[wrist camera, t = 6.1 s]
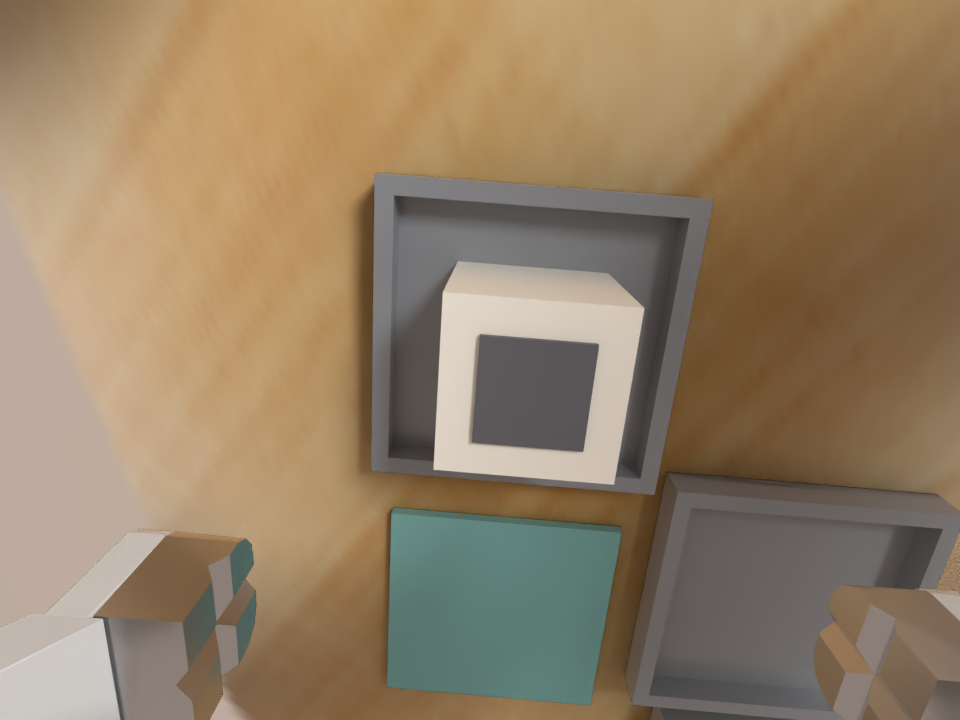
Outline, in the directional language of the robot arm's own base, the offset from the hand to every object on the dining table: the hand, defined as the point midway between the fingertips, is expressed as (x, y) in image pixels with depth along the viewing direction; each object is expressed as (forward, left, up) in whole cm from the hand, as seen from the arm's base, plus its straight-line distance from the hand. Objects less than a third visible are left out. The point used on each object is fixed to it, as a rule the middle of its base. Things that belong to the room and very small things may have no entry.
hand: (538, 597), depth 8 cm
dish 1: (0, 0, -13) cm, 13 cm away
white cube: (0, 0, -12) cm, 12 cm away
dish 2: (-11, +10, -13) cm, 20 cm away
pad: (0, +12, -13) cm, 17 cm away
